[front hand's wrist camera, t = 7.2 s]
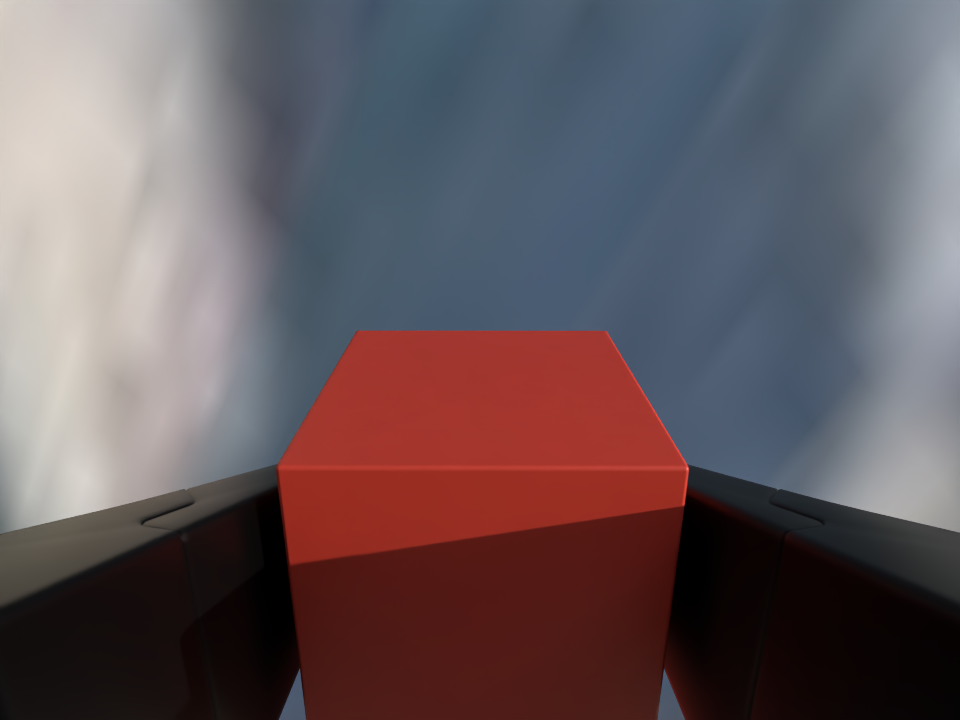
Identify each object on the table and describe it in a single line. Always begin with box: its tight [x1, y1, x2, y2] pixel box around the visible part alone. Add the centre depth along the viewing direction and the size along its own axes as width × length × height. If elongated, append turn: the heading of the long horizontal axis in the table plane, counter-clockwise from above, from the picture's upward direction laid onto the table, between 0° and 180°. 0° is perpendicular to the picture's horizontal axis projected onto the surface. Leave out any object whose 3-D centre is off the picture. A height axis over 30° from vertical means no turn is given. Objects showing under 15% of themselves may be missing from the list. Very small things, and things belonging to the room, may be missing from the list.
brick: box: [276, 331, 689, 720], centre depth 10 cm, size 4×5×5 cm
